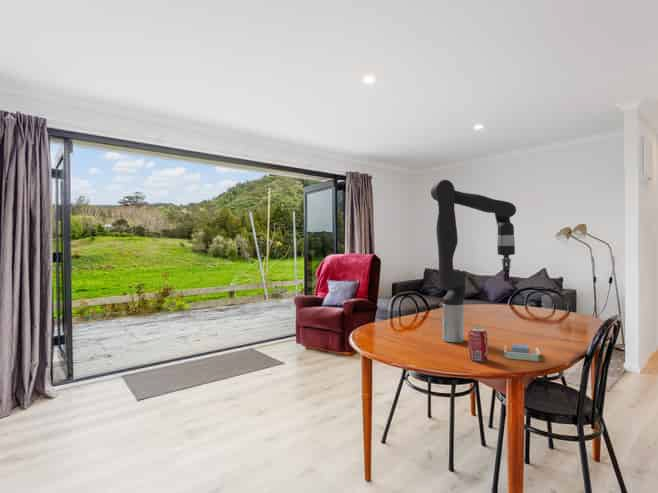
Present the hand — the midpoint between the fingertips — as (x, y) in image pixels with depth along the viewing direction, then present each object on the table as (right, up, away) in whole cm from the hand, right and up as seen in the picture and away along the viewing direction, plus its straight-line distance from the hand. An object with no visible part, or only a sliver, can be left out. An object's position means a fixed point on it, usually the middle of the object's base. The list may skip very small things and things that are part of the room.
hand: (506, 281), depth 182 cm
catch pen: (-7, -28, -28) cm, 40 cm away
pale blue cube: (-8, -28, -28) cm, 40 cm away
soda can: (-26, -28, -32) cm, 50 cm away
